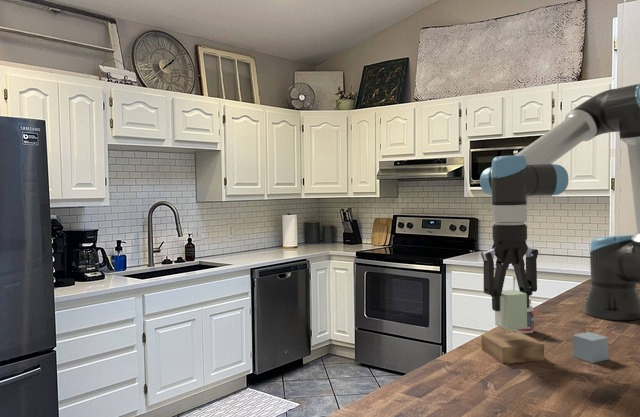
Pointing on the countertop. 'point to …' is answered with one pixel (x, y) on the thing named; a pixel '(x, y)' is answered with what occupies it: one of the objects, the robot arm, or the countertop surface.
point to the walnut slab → (512, 347)
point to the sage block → (514, 310)
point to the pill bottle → (528, 320)
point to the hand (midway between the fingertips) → (511, 323)
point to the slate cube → (590, 347)
